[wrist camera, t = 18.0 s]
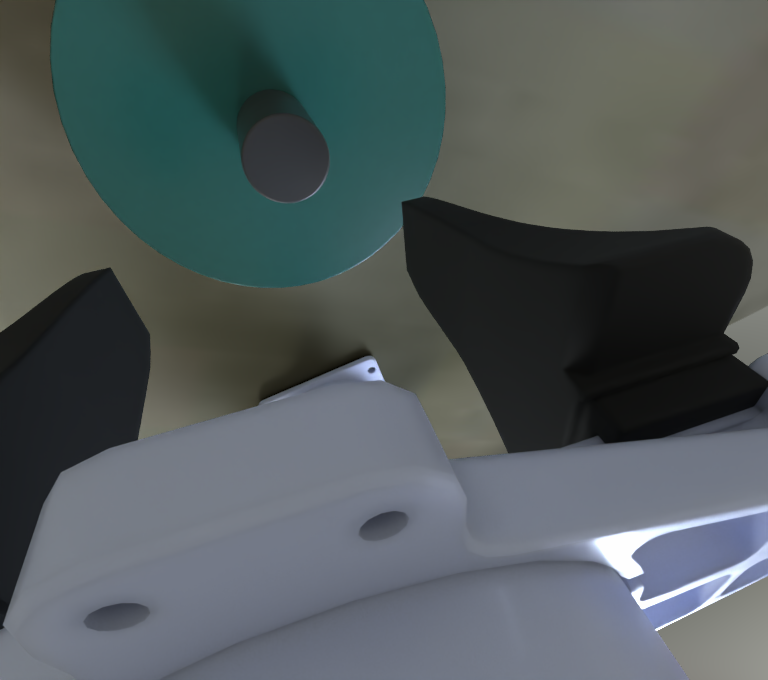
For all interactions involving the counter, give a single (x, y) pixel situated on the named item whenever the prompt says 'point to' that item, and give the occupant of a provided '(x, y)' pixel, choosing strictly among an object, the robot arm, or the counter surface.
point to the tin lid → (253, 126)
